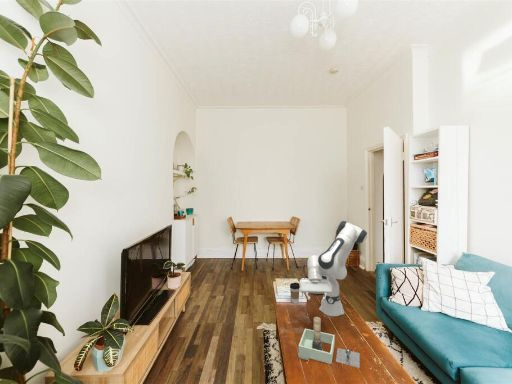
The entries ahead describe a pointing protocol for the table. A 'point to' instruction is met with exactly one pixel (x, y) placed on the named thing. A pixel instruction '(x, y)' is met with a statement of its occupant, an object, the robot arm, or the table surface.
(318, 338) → the strut
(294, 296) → the coffee cup
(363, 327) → the table surface
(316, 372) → the table surface
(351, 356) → the stud plate
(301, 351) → the bin
